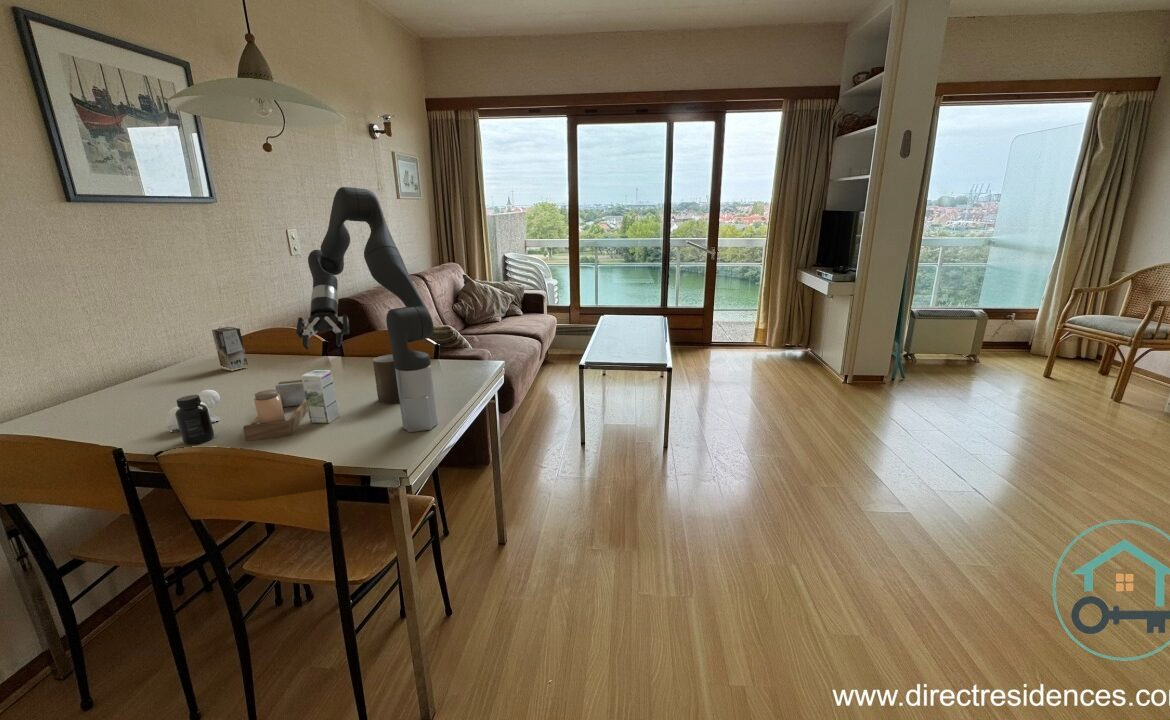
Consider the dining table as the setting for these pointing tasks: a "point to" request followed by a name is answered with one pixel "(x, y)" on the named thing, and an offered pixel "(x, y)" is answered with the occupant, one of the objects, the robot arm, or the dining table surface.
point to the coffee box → (230, 347)
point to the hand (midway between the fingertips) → (322, 346)
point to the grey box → (291, 393)
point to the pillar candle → (386, 379)
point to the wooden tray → (276, 424)
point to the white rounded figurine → (207, 399)
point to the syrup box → (320, 396)
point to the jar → (269, 406)
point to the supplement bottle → (193, 420)
